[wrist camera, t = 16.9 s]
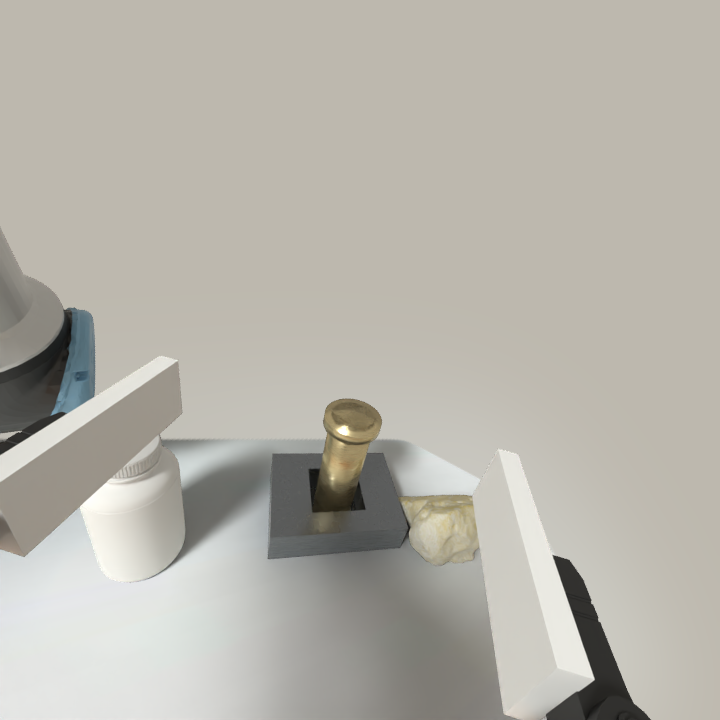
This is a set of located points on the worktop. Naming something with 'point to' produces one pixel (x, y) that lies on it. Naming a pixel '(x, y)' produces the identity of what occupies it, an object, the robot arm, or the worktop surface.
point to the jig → (331, 529)
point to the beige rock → (442, 527)
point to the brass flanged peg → (344, 452)
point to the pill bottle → (138, 516)
